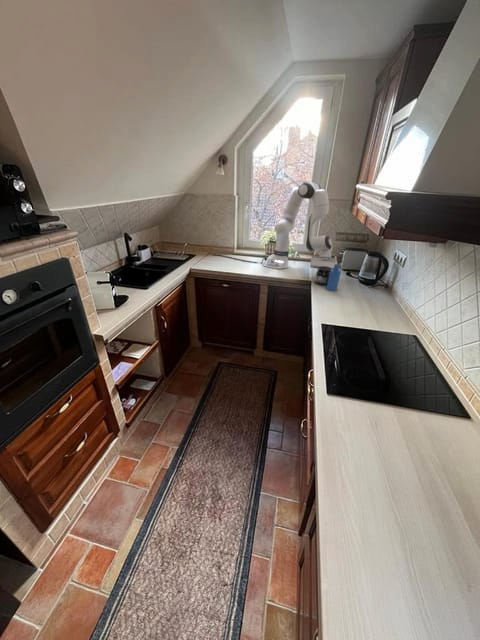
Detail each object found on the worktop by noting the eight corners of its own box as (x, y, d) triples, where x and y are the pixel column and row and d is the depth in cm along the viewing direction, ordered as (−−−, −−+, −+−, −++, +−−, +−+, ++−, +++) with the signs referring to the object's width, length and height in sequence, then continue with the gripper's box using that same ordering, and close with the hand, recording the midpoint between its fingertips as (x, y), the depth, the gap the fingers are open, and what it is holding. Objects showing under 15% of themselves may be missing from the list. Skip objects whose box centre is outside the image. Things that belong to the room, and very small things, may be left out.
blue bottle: (326, 290, 182) (331, 265, 173) (326, 286, 187) (331, 263, 178) (336, 291, 180) (342, 267, 171) (336, 288, 186) (341, 264, 177)
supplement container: (327, 281, 197) (330, 266, 191) (329, 286, 188) (333, 270, 182) (313, 280, 198) (316, 265, 192) (315, 285, 189) (318, 270, 183)
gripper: (311, 254, 199) (308, 269, 196) (338, 256, 194) (336, 273, 191) (310, 258, 205) (308, 273, 202) (337, 261, 200) (334, 276, 197)
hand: (322, 273), depth 196 cm, fingers closed
